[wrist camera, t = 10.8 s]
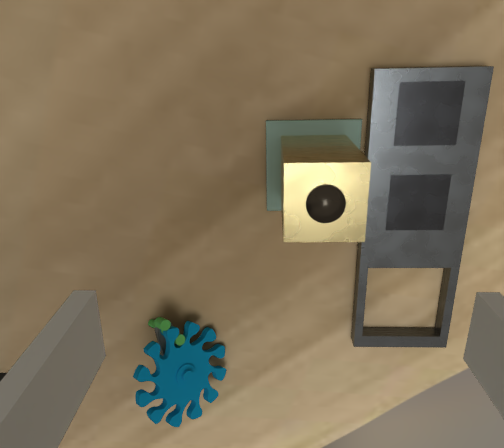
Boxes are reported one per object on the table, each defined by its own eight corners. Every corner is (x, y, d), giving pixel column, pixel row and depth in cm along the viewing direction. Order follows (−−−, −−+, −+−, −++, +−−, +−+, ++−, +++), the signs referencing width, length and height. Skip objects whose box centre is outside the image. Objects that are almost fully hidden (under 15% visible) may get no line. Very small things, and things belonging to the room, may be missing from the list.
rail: (351, 337, 45) (353, 347, 43) (370, 68, 35) (375, 68, 34) (440, 338, 44) (446, 348, 43) (484, 65, 35) (494, 66, 33)
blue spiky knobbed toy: (239, 393, 46) (156, 452, 40) (208, 376, 50) (129, 427, 44) (214, 297, 43) (122, 344, 38) (184, 288, 48) (97, 329, 42)
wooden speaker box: (280, 197, 39) (283, 243, 30) (280, 135, 37) (284, 164, 28) (342, 196, 39) (365, 243, 29) (345, 134, 37) (371, 162, 27)
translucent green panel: (267, 209, 40) (266, 210, 40) (266, 120, 37) (266, 121, 37) (355, 208, 40) (355, 210, 39) (361, 118, 37) (362, 119, 36)
